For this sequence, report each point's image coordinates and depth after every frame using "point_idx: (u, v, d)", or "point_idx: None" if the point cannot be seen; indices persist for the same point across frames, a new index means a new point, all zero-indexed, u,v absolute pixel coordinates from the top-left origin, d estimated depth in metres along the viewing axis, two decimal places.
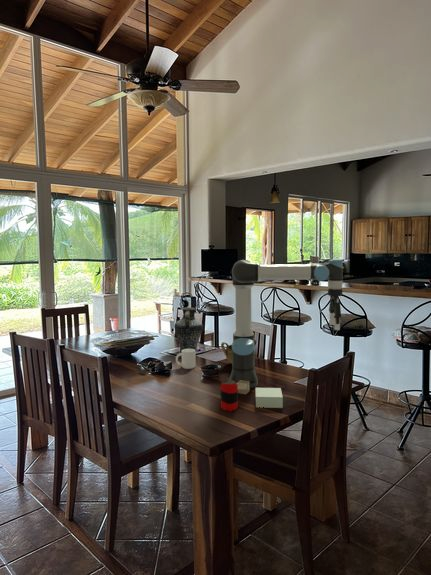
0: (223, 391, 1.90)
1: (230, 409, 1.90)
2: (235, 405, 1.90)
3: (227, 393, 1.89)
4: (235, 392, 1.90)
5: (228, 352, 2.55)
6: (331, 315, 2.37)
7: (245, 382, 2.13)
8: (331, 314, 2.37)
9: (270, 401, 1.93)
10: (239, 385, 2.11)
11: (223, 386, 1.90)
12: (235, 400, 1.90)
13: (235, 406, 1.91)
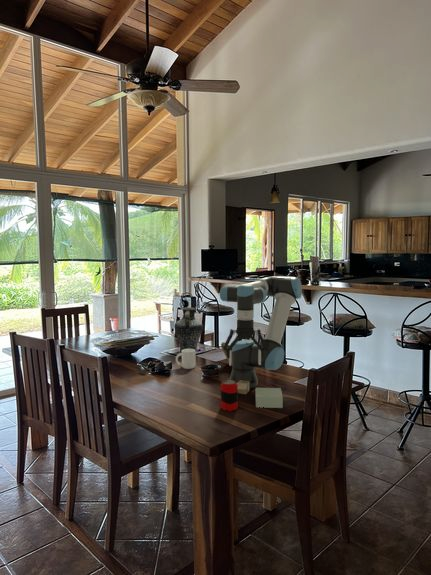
0: (223, 391, 1.90)
1: (230, 409, 1.90)
2: (235, 405, 1.90)
3: (227, 393, 1.89)
4: (235, 392, 1.90)
5: None
6: (258, 352, 1.97)
7: (245, 382, 2.13)
8: (258, 351, 1.96)
9: (270, 401, 1.93)
10: (239, 385, 2.11)
11: (223, 386, 1.90)
12: (235, 400, 1.90)
13: (235, 406, 1.91)
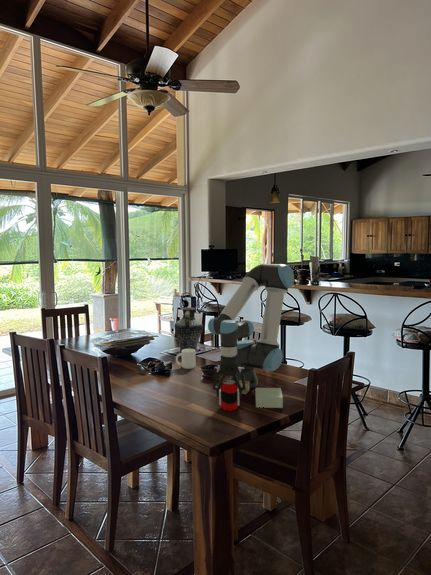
0: (223, 391, 1.90)
1: (230, 409, 1.90)
2: (235, 405, 1.90)
3: (227, 393, 1.89)
4: (235, 392, 1.90)
5: None
6: None
7: (245, 382, 2.13)
8: None
9: (270, 401, 1.93)
10: None
11: (223, 386, 1.90)
12: (235, 400, 1.90)
13: (235, 406, 1.91)
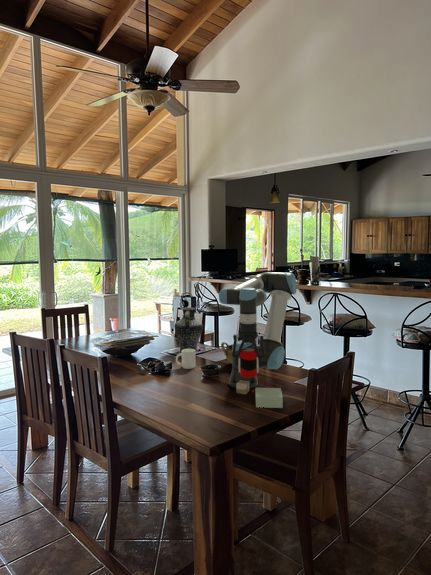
0: (242, 358, 1.91)
1: (249, 376, 1.91)
2: (254, 372, 1.92)
3: (246, 360, 1.90)
4: (254, 359, 1.91)
5: (228, 352, 2.55)
6: None
7: (245, 382, 2.13)
8: None
9: (270, 401, 1.93)
10: (239, 385, 2.11)
11: (242, 353, 1.91)
12: (254, 367, 1.91)
13: (254, 373, 1.92)
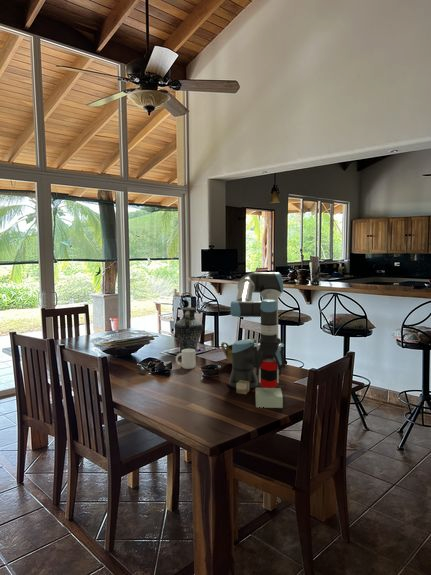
0: (263, 369, 1.94)
1: (270, 386, 1.94)
2: (275, 382, 1.95)
3: (267, 370, 1.93)
4: (275, 369, 1.94)
5: (228, 352, 2.55)
6: None
7: (245, 382, 2.13)
8: None
9: (270, 401, 1.93)
10: (239, 385, 2.11)
11: (263, 364, 1.94)
12: (275, 377, 1.95)
13: (275, 383, 1.95)
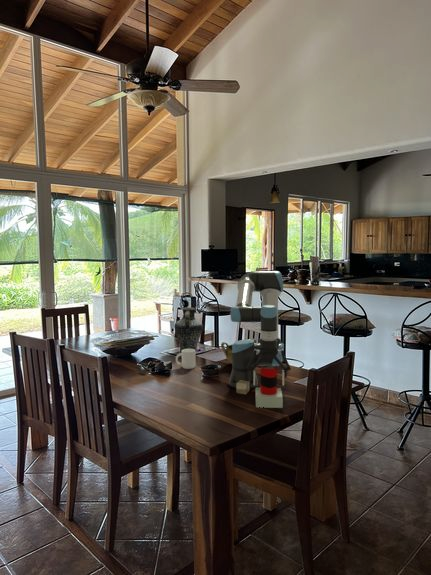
0: (263, 376, 1.95)
1: (270, 393, 1.95)
2: (275, 389, 1.95)
3: (267, 377, 1.94)
4: (275, 376, 1.95)
5: (228, 352, 2.55)
6: (282, 372, 1.97)
7: (245, 382, 2.13)
8: (282, 371, 1.97)
9: (270, 401, 1.93)
10: (239, 385, 2.11)
11: (263, 371, 1.95)
12: (275, 384, 1.95)
13: (275, 390, 1.96)
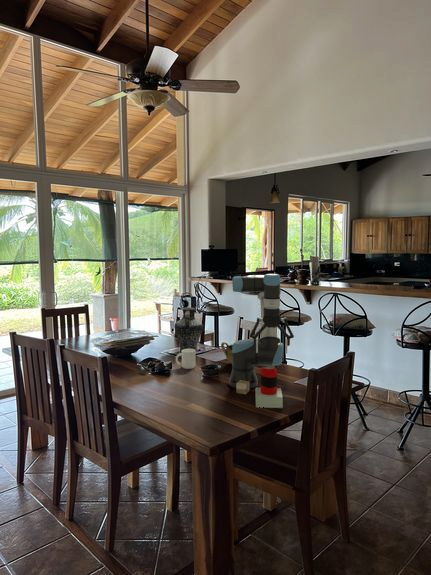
0: (263, 376, 1.95)
1: (270, 393, 1.95)
2: (275, 389, 1.95)
3: (267, 377, 1.94)
4: (275, 376, 1.95)
5: (228, 352, 2.55)
6: (285, 340, 1.99)
7: (245, 382, 2.13)
8: (285, 339, 1.98)
9: (270, 401, 1.93)
10: (239, 385, 2.11)
11: (263, 371, 1.95)
12: (275, 384, 1.95)
13: (275, 390, 1.96)
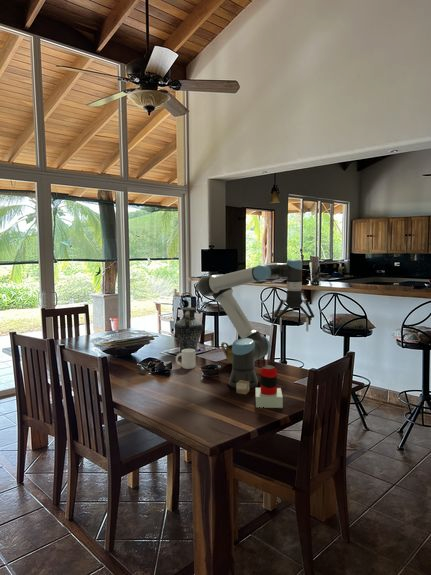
0: (263, 376, 1.95)
1: (270, 393, 1.95)
2: (275, 389, 1.95)
3: (267, 377, 1.94)
4: (275, 376, 1.95)
5: (228, 352, 2.55)
6: (306, 320, 2.19)
7: (245, 382, 2.13)
8: (306, 319, 2.19)
9: (270, 401, 1.93)
10: (239, 385, 2.11)
11: (263, 371, 1.95)
12: (275, 384, 1.95)
13: (275, 390, 1.96)
